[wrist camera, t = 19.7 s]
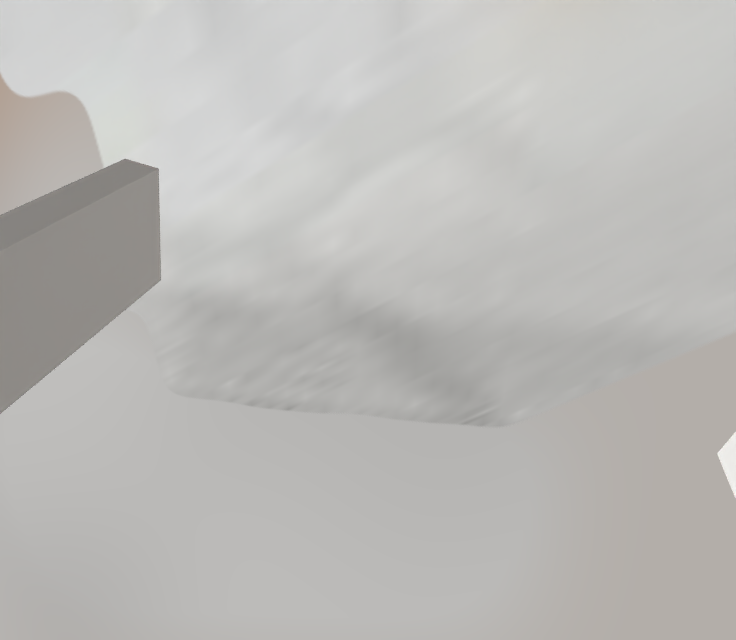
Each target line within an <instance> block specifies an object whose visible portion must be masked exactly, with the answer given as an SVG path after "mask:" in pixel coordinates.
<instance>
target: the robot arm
mask: <svg viewBox="0 0 736 640" xmlns="http://www.w3.org/2000/svg"><path fill="white" fill-rule="evenodd" d="M160 280H161V260H160V213H159V169H158V168H155V167H151V166H148V165H144V164H141V163H138V162H134V161H131V160H127V159H124V160H121V161H119V162H117V163H115V164H113V165H110V166H108V167H106V168H104V169H101V170H99V171H97V172H95V173H93V174H90V175H88V176H86V177H84V178H82V179H79V180H77V181H75V182H73V183H71V184H68V185H66V186H64V187H62V188H60V189H57V190H55V191H53V192H51V193H49V194H46V195H44V196H42V197H39V198H37V199H35V200H33V201H31V202H28V203H26V204H24V205H22V206H20V207H17V208H15V209H13V210H11V211H9V212H6V213H4V214H2V215H0V414H1V413H2V412H3V411H4V410H6V409H7V408H8V407H9V406H10V405H12V404H13V403H14V402H15V401H16V400H18V399H19V398H20V397H21V396H22V395H24V394H25V393H26V392H27V391H28V390H29V389H31V388H32V387H33V386H34V385H36V384H37V383H38V382H39V381H40V380H42V379H43V378H44V377H45V376H46V375H48V374H49V373H50V372H51V371H52V370H53V369H55V368H56V367H57V366H58V365H60V364H61V363H62V362H63V361H64V360H66V359H67V358H68V357H69V356H70V355H72V354H73V353H74V352H75V351H76V350H78V349H79V348H80V347H81V346H82V345H84V344H85V343H86V342H87V341H88V340H89V339H91V338H92V337H93V336H94V335H96V334H97V333H98V332H99V331H100V330H101V329H103V328H104V327H105V326H106V325H108V324H109V323H110V322H111V321H112V320H114V319H115V318H116V317H117V316H118V315H120V314H121V313H122V312H123V311H124V310H126V309H127V308H128V307H129V306H130V305H132V304H133V303H134V302H135V301H136V300H138V299H139V298H140V297H141V296H142V295H144V294H145V293H146V292H147V291H148V290H150V289H151V288H152V287H153V286H154V285H156V284H157V283H158V282H159V281H160ZM717 455H718V457H719V459H720V462H721V464H722V466H723V469H724V471H725V474H726V476H727V479H728V481H729V484H730V486H731V488H732V490H733V493H734V496H735V498H736V432H735V433H734V434H733V436H732V437H731V438H730V439H729V440H728V441H727V443H726V444H725V445H724V446H723V447H722V449H721V450H720V451H719V452H718V453H717Z"/></svg>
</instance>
